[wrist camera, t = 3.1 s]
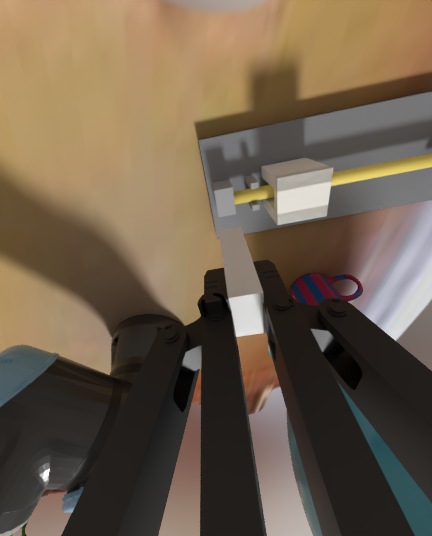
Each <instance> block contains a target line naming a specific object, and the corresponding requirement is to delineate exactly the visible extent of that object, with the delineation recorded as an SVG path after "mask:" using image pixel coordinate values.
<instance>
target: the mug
mask: <svg viewBox="0 0 432 536" xmlns="http://www.w3.org/2000/svg"><path fill="white" fill-rule="evenodd" d="M342 279H350V280H353V281H354V282H356V284H357V285H358V290H357V291H356V292H355V293H354V294H352V295H349V296H341V295H340V294H339V293H338V292H337V290H336V289H335V288H334V287H333V285H332V283H334V282H335V281H338V280H342ZM362 292H363V287H362V285H361V283H360V281H359V280H358V279H356V278H355V277H353V276H351V275H346V274H343V275H337V276H334V277H331V278H329V279H327V278H326V277H325V276H324V275H322V274H318V273H312V274H307V275H304V276H302V277H300V278H299V279H298V280H296V281H295V282H294V284H293V285H292V287H291V296H292V297H293V298H294V299H295V300H296V301H297V302H299V303H302V304H307V305H318V306H319V304H320V303H321V301H323V300H325V299H328V298H339V299H342V300H345V301H347V302H348V301H351V300H354V299H356V298H358V297H359V296H360V295H361V294H362Z"/></svg>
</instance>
